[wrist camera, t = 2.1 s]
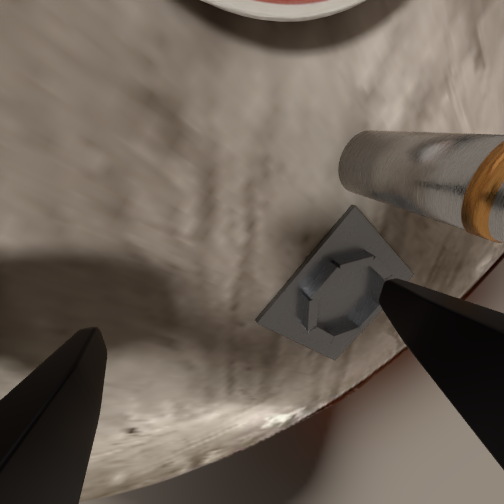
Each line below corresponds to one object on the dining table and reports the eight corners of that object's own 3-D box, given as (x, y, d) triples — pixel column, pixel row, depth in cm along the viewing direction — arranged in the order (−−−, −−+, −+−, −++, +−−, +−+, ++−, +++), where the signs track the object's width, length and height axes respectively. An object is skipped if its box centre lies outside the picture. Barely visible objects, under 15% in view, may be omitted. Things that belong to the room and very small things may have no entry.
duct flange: (332, 357, 33) (341, 368, 31) (255, 319, 25) (261, 331, 24) (410, 272, 31) (423, 279, 29) (351, 204, 23) (365, 210, 22)
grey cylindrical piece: (357, 205, 24) (516, 265, 14) (326, 168, 21) (496, 210, 11) (397, 158, 23) (594, 185, 13) (370, 113, 20) (594, 104, 10)
